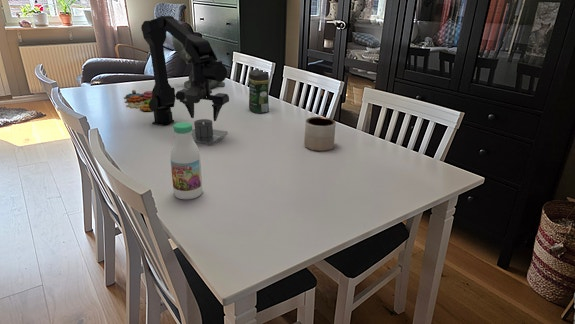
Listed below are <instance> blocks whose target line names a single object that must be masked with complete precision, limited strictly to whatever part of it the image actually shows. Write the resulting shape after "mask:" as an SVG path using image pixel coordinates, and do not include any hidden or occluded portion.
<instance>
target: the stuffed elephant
mask: <svg viewBox="0 0 575 324" xmlns="http://www.w3.org/2000/svg"><path fill="white" fill-rule="evenodd" d="M172 47H173V48H174V49H175V50H176V52H177V55H178V56H179V58H181V59H182V60H183V61H184V62H185V63H186V65H189V66H190V65H191V66H192V64H191V63H188V60H190V59H191V57H190V56H189V54H188V53H187V52H186V51H185V47H184V45H183V44H182V43H181V42H179V41H178V40H177V39H176V38H175V37H173V39H172ZM208 57H209V56H208ZM202 58H204V57H202ZM191 81H193V71H192V70H191V71H190V75H188V80H186V81H185V82H183V86H184V87H185V89H189V88H190V87H191ZM225 86H226V83H225V82H224V81H222V82H218V81H214V80H211V82H210V89H213V88H215V87H218V88H221V87H222V88H224V87H225Z"/></svg>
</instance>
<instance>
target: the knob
mask: <svg viewBox="0 0 575 324" xmlns="http://www.w3.org/2000/svg"><path fill="white" fill-rule="evenodd" d="M193 122H194V129H195V135H196V137H200V138H205V137H210V136H212V135H213V129H214V128H213V120H212V119H208V118H205V119H204V118H203V119H196V120H195V121H193Z"/></svg>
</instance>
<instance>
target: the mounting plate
mask: <svg viewBox="0 0 575 324" xmlns="http://www.w3.org/2000/svg"><path fill="white" fill-rule="evenodd" d="M227 135H229V132H228V131H227V130H221V129H220V130H219V129H214V128H213V135H212V136H210V137H205V138H200V137H196V135H195V128H194V129H192V137H193V140H194V142H195V143H196V144H198V145H206V146H214V145H215V144H217V143H218V142H219V141H220V140H222V139H223V138H225V137H226V136H227Z"/></svg>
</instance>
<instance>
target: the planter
mask: <svg viewBox="0 0 575 324" xmlns="http://www.w3.org/2000/svg"><path fill="white" fill-rule="evenodd" d="M336 123H337V122H336V120H334V119H332V118H330V117H326V116H313V117H308V118H307V119H306V120H305V125H304V126H305V127H304V141H303V145H304V146H305V148H306V149H309V150H311V151H315V152H327V151H329V150H332V149H333V148H334V146H335V136H336Z"/></svg>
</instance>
